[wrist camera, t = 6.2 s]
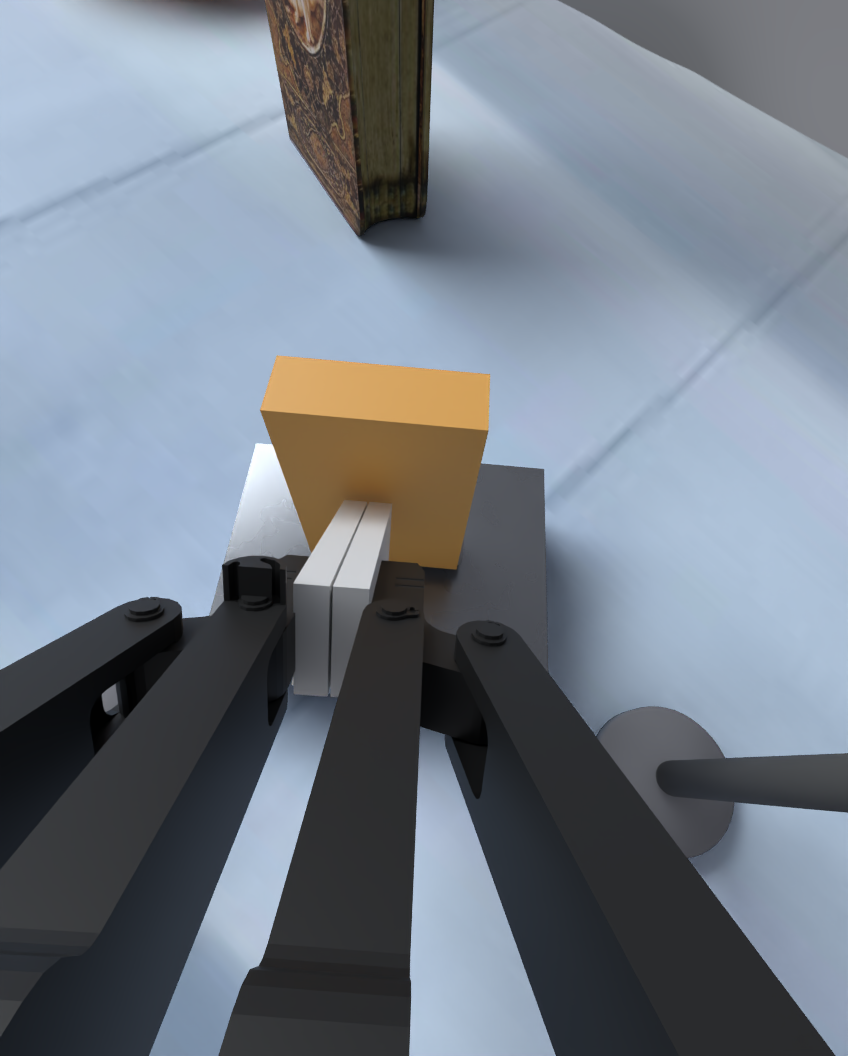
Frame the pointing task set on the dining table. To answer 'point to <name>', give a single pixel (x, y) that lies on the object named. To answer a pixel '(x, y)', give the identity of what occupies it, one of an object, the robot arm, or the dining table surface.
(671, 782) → the stand
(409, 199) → the book
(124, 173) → the dining table surface
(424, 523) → the orange rectangular prism
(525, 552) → the block
